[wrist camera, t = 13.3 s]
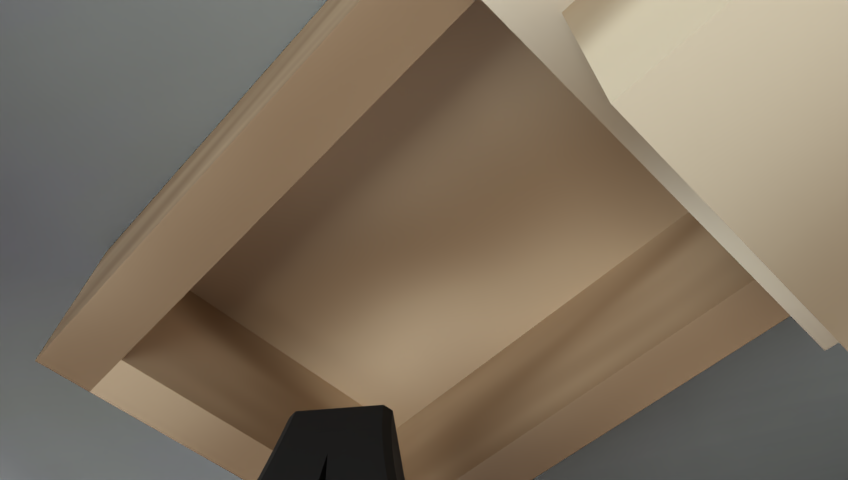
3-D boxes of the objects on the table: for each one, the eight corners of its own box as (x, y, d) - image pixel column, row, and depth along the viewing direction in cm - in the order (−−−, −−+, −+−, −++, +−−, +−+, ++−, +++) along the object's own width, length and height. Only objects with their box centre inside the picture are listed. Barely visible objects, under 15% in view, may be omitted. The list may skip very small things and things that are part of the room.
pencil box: (106, 251, 15) (34, 360, 12) (693, -417, 9) (804, -492, 7) (400, 444, 18) (395, 566, 15) (975, 26, 12) (1130, 99, 10)
